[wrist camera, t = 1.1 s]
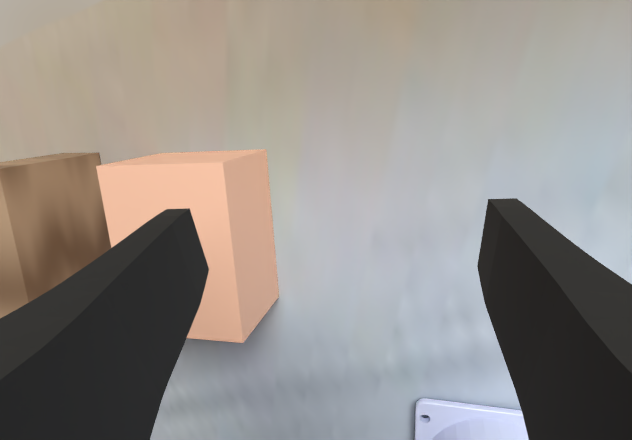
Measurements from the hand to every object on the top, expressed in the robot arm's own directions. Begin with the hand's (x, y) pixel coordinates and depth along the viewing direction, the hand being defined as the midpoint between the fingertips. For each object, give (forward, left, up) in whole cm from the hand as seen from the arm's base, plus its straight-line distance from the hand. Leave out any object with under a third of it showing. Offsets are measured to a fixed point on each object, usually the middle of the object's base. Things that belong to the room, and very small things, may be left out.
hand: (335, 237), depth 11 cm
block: (-3, +9, -11) cm, 14 cm away
